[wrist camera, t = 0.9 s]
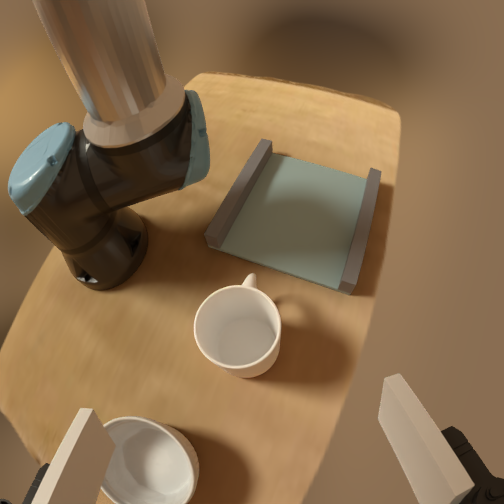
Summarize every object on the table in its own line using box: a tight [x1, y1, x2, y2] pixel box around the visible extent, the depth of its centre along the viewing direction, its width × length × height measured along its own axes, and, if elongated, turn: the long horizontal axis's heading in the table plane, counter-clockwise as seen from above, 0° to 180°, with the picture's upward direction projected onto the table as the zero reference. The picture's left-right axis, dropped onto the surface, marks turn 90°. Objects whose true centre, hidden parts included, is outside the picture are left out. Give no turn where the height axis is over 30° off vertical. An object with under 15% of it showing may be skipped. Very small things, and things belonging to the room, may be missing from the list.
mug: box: [194, 273, 281, 378], centre depth 34 cm, size 9×12×11 cm
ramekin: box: [101, 416, 200, 504], centre depth 27 cm, size 13×13×7 cm
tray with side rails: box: [204, 139, 381, 295], centre depth 46 cm, size 22×22×4 cm
